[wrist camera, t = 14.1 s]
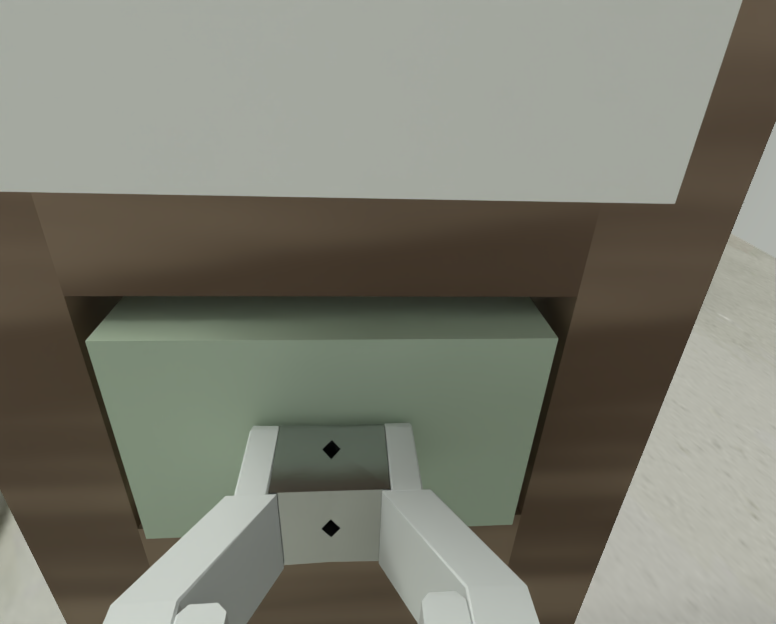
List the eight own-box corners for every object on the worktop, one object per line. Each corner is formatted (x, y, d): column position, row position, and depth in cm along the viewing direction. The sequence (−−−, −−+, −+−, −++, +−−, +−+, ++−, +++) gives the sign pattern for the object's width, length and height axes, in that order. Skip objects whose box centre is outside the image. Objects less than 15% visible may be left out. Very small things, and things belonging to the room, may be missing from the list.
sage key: (512, 524, 11) (558, 337, 9) (146, 539, 10) (85, 341, 8) (472, 408, 15) (498, 251, 12) (196, 413, 14) (164, 248, 11)
